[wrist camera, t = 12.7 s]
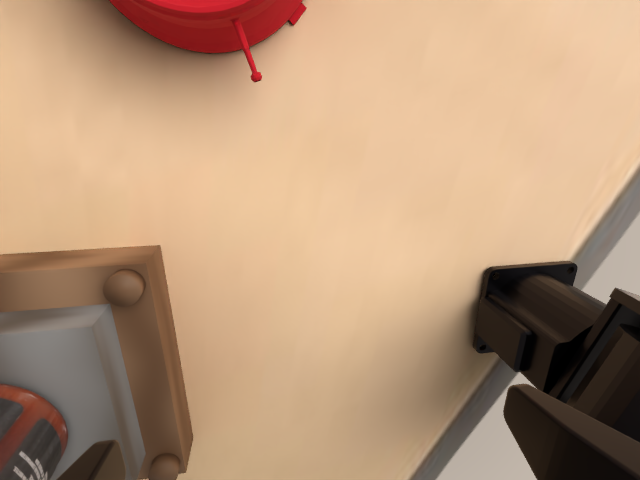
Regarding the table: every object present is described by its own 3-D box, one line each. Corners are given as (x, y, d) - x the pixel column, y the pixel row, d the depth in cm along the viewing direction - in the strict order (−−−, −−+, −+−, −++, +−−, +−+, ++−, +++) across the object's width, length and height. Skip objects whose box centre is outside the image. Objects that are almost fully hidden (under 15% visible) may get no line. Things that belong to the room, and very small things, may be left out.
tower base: (160, 245, 19) (131, 281, 15) (193, 437, 24) (178, 506, 20) (-143, 262, 17) (-276, 311, 13) (-41, 469, 22) (-114, 554, 17)
